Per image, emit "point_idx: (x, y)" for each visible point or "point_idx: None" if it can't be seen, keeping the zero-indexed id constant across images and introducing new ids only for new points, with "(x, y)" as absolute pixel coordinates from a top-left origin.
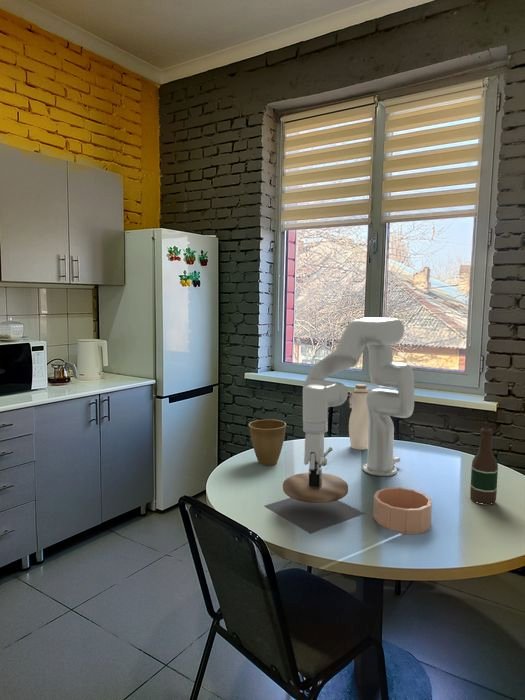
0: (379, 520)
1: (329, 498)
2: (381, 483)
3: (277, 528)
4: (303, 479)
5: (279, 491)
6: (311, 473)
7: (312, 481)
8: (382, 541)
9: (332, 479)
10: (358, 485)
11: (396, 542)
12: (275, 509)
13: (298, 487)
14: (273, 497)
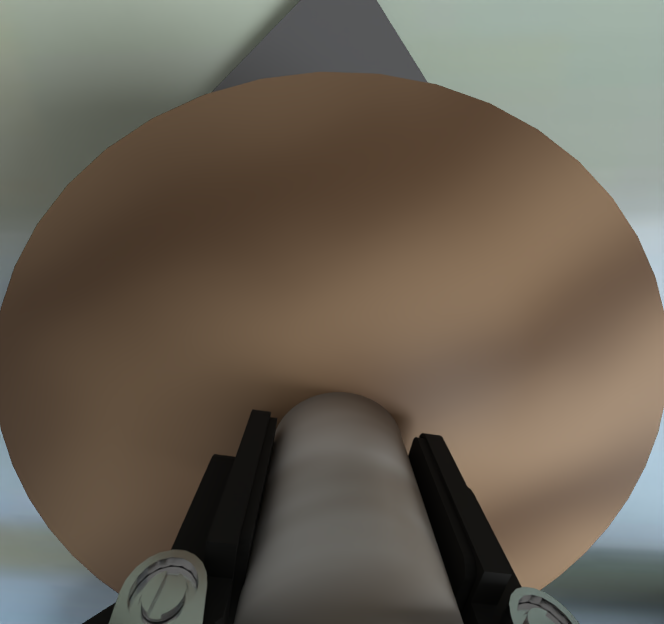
0: None
1: (66, 542)
2: (628, 615)
3: (22, 102)
4: (484, 341)
5: (639, 98)
6: (103, 620)
7: (199, 491)
8: (67, 583)
9: None
10: (628, 540)
11: (76, 618)
12: (286, 70)
13: (258, 286)
14: (535, 48)
